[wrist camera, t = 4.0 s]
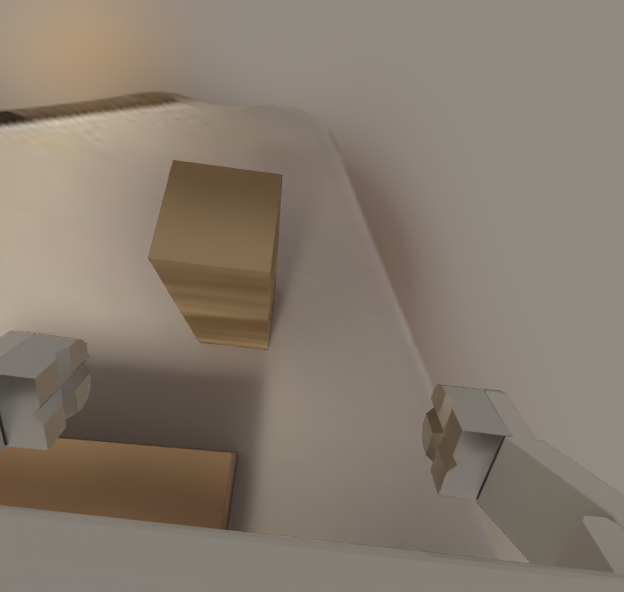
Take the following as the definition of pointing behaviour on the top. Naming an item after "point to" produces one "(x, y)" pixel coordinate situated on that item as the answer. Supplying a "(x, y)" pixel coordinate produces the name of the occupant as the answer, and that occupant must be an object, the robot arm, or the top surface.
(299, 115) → the top surface
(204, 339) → the pin
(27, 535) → the robot arm
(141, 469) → the socket block
